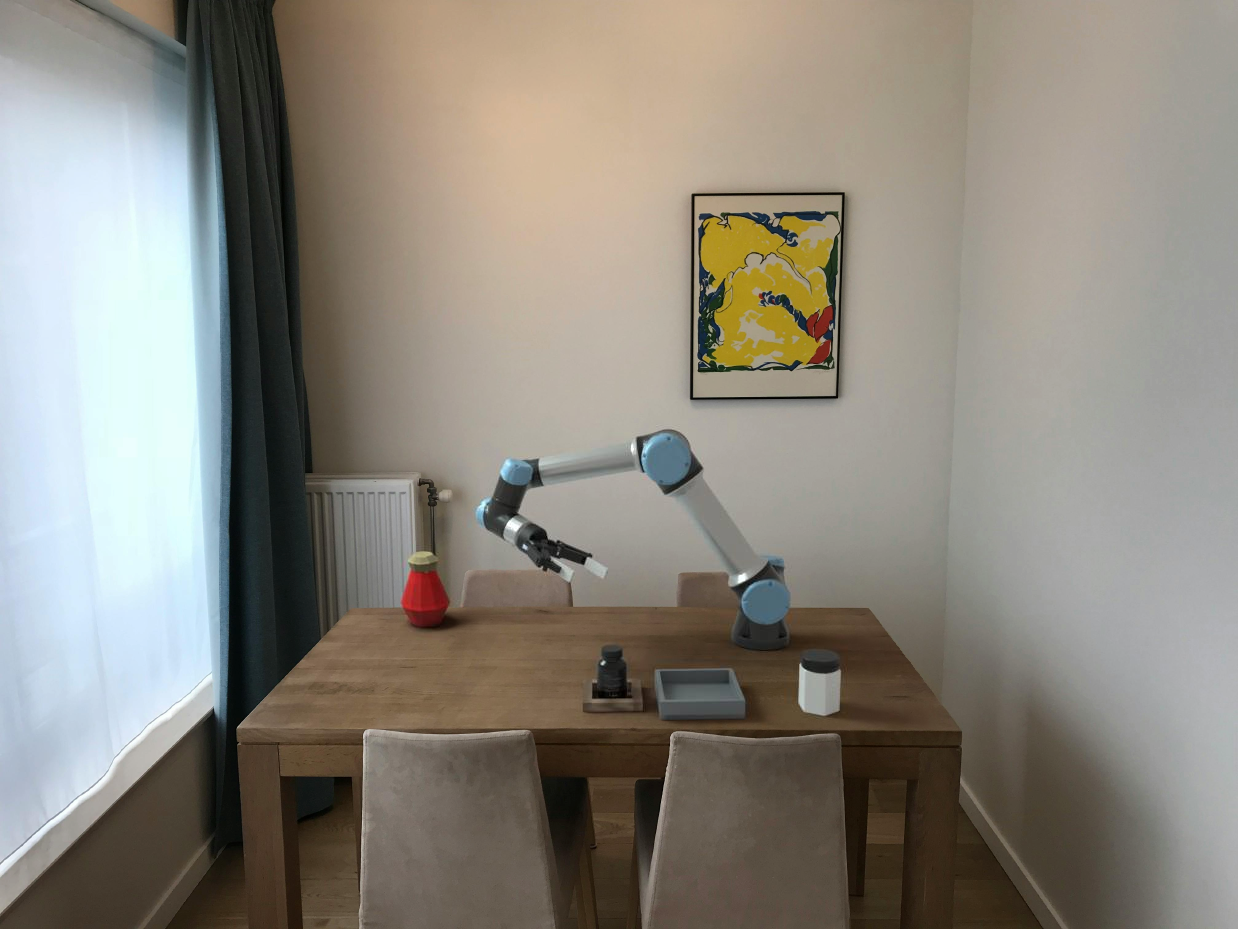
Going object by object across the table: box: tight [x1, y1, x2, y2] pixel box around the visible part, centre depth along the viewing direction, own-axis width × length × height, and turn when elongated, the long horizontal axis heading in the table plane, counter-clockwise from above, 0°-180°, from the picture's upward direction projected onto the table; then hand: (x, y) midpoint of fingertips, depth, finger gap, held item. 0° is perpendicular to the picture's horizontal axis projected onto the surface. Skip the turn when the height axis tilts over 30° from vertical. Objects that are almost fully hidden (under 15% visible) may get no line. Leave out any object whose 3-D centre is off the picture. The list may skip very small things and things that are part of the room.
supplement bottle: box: [596, 643, 628, 699], centre depth 193 cm, size 7×7×12 cm
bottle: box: [400, 551, 451, 629], centre depth 244 cm, size 16×14×20 cm
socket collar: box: [582, 678, 644, 713], centre depth 193 cm, size 13×13×2 cm
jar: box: [797, 648, 842, 717], centre depth 188 cm, size 9×8×12 cm
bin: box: [654, 667, 746, 721], centre depth 192 cm, size 18×18×4 cm
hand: (589, 575), depth 202 cm, fingers open, 13 cm apart
